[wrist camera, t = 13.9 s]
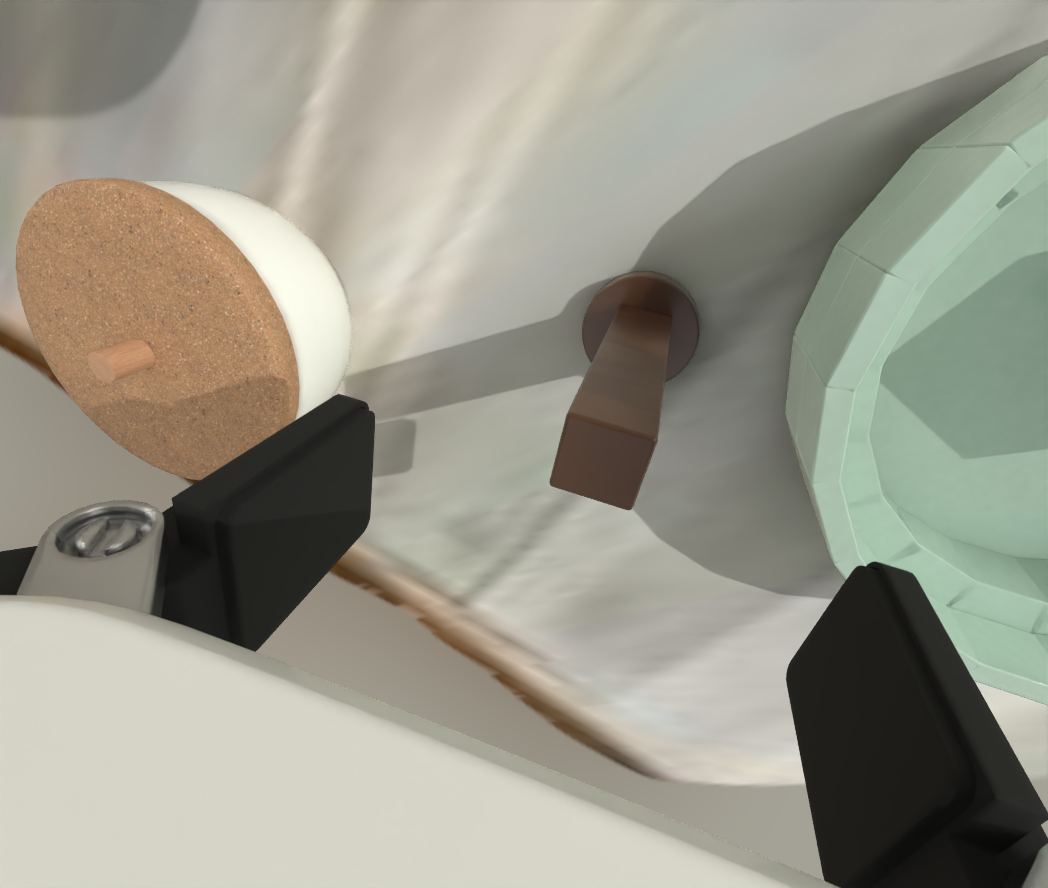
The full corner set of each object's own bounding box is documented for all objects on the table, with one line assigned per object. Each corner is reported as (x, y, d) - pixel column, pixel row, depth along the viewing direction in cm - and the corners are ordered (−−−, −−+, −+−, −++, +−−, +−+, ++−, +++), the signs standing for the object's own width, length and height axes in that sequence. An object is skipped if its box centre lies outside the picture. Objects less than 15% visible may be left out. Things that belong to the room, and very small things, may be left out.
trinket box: (295, 435, 29) (143, 542, 21) (154, 259, 26) (-85, 304, 18) (438, 345, 24) (310, 439, 16) (283, 114, 21) (32, 87, 13)
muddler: (575, 363, 22) (492, 510, 13) (601, 258, 20) (523, 345, 11) (677, 392, 22) (666, 567, 12) (716, 286, 19) (738, 405, 10)
